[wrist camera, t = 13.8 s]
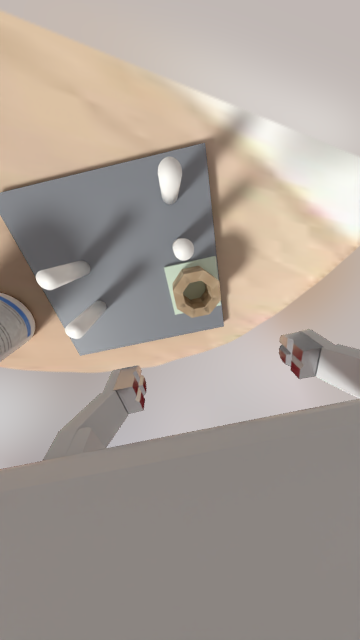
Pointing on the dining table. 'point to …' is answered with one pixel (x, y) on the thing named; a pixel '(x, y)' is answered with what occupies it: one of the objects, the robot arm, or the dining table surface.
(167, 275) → the pad
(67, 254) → the board
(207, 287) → the ring
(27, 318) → the supplement tub
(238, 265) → the dining table surface
